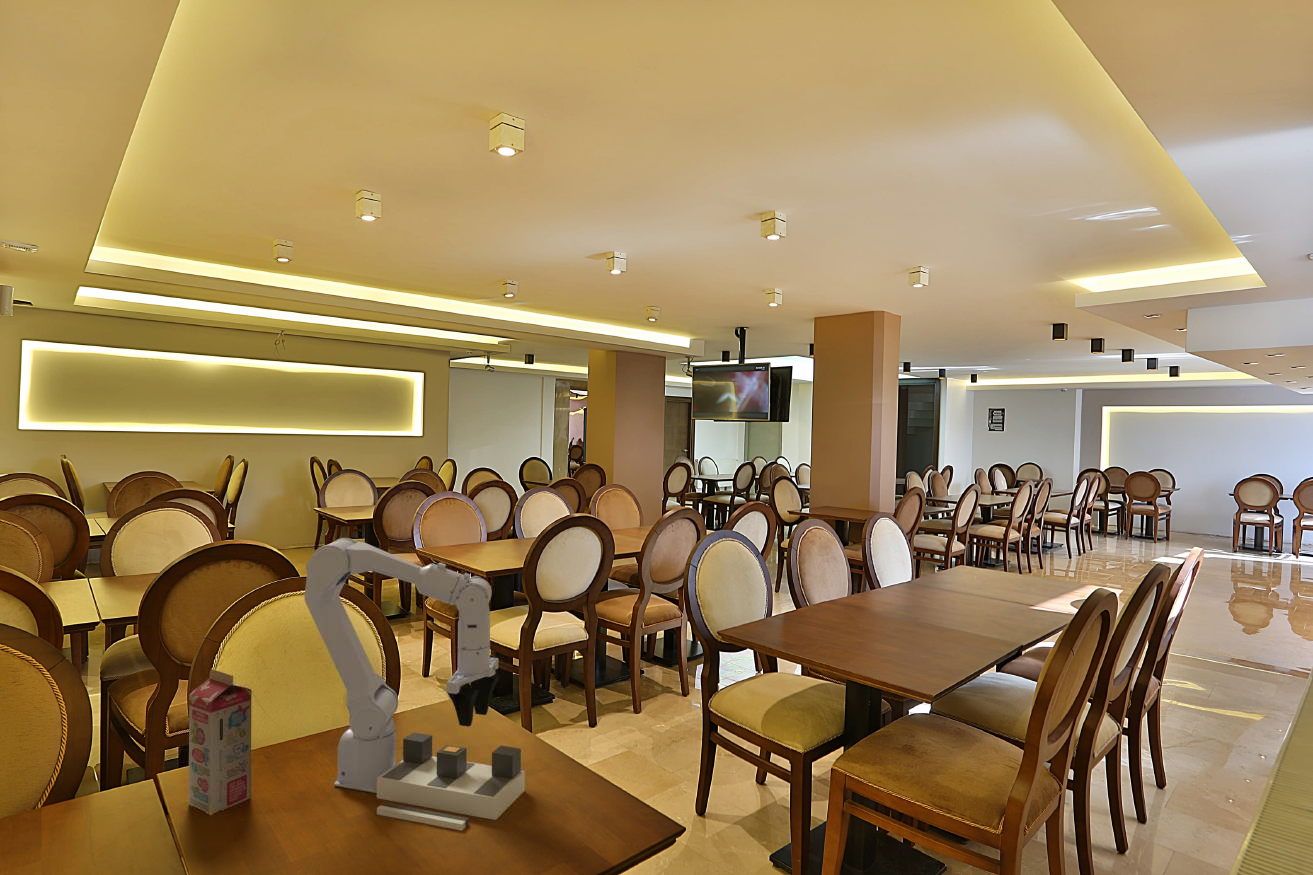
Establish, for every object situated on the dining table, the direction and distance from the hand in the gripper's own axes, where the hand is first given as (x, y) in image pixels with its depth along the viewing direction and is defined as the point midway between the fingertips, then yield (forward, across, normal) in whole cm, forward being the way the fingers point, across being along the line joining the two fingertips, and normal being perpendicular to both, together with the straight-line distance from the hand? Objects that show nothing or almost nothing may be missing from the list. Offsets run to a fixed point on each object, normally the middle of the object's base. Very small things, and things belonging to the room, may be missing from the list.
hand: (473, 719), depth 131 cm
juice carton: (+11, -21, +36) cm, 43 cm away
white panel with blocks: (+10, -7, 0) cm, 13 cm away
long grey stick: (+10, -15, 0) cm, 18 cm away
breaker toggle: (+7, -7, 0) cm, 10 cm away
